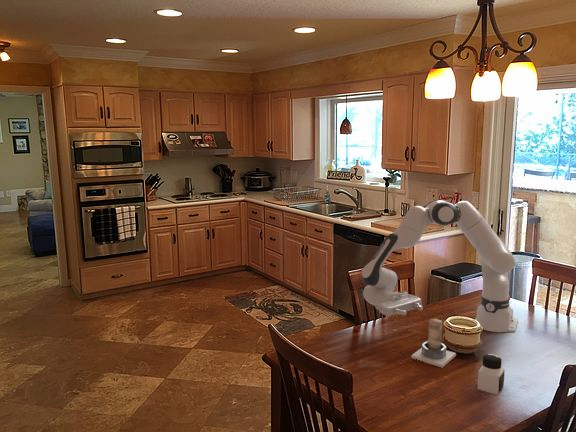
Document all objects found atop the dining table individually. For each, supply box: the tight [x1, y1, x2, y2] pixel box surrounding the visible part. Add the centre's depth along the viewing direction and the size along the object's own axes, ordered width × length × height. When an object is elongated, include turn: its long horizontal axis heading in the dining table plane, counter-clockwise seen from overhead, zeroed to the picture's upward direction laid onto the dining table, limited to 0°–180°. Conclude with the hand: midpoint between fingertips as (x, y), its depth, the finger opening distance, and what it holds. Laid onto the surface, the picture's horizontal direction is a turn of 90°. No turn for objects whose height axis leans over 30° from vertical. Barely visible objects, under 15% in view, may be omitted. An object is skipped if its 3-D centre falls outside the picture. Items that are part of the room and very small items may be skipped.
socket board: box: [411, 340, 457, 369], centre depth 194 cm, size 13×13×5 cm
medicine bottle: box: [477, 353, 505, 396], centre depth 169 cm, size 7×7×12 cm
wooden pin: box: [427, 318, 443, 350], centre depth 193 cm, size 5×5×14 cm
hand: (413, 310), depth 202 cm, fingers open, 8 cm apart
